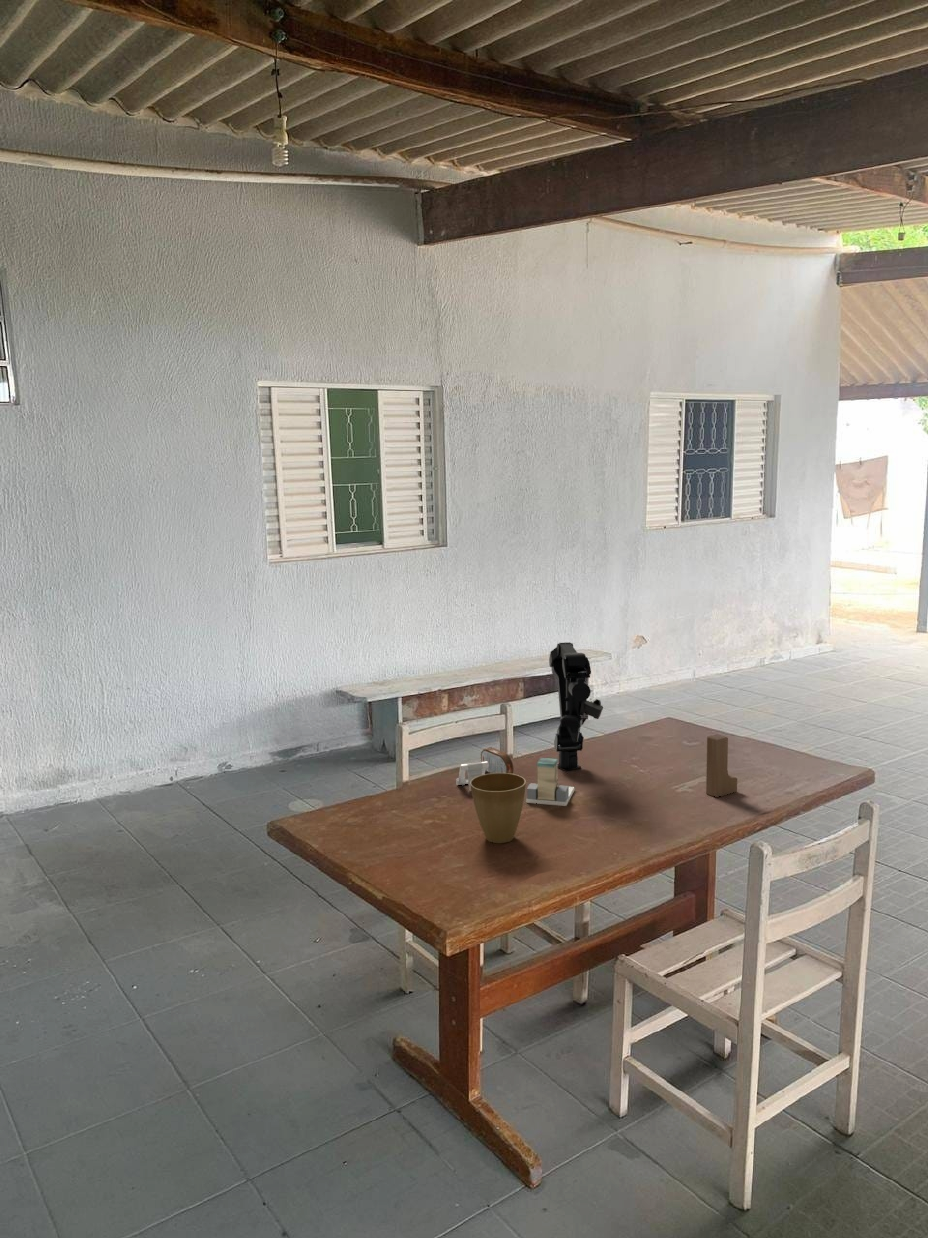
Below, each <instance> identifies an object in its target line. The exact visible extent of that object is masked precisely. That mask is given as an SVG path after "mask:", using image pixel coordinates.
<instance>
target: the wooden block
mask: <svg viewBox="0 0 928 1238" xmlns="http://www.w3.org/2000/svg"><path fill="white" fill-rule="evenodd" d="M728 748H729V737H728V736H724V735H721V734H718V733H716V734H712V735H709V736H707V737H706V771H705V772H706V774H705V775H706V776H705V777H706V778H705V779H706V781H705V782H706V784H705V786H706V787H705V794H706V795H708V796H711V797H714V796H715V797H714V798H716V797H718V798H720V797H719V796H721V797H724V796H727V794H728V795H731V794H734V793H737V792H738V777H735V776H733V775H729V771H728V770H729V769H728V761H729V760H728V759H729V757H728V754H729V749H728ZM736 791H737V792H736ZM733 792H734V793H733ZM730 793H731V794H730Z"/></svg>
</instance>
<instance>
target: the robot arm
mask: <svg viewBox="0 0 928 1238" xmlns="http://www.w3.org/2000/svg"><path fill="white" fill-rule="evenodd" d="M548 663H549V667H550V668H551V674H552V675H553V676H554V678H555V679H556V681H557V690H558V693H557V695H558V702H559V703H558V706H559V713H560V714H559V716H560V720H559V725H558V727H557V729H556V733H555V736H554V741H553V744H554V745H553V748H554V750H555V751H556V752H557V753H558V763H557V769H560V770H561V771H562V770H563V771H564V772H568V771H573V770H578V769H582V766H581V765H579V761H578V759H579V756H578V751H580V752H581V751H583V748H584V745H583V744H584V738H585V737H584V736H583V734H582V732H581V727H582V726H583V725H584V723H585V722H586V720H587V718H586V717H583V716H585V714H586V716H589V717H593V719H596V720H599V719H600V717H601V714H602V712H603V709H604V706H603V705H602V702H601V699H597V698H596V699H594V700H593V701H591V700H590V701H589V700H587V699H589V698H590V696H591V692H592V690H591V688H590V686H589V685H588V683H586V679H589V678H590V679H591V675H592V674H591V673H592V670H591V668H592V667H591V664H590V663H591V662H590V660H589V658H588V657H586V654H585V653H583V652H577V650H576V649H575V647H574V643H573V642H571V641H570V642H568V641H567V642H559V643H557V644H556V647H555V648H553V649H552V650H551V651H550V653H549V660H548Z"/></svg>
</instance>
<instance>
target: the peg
mask: <svg viewBox="0 0 928 1238" xmlns="http://www.w3.org/2000/svg"><path fill="white" fill-rule="evenodd" d="M536 764H537V765H536V767H537V769H536V770H537V784H538V799H546V800H555V791H556V789H557V787H558V785H559V784H558V783H559V782H558V780H559V779H558V767H557V764H558V758H548V757H546V758H545V757H541V758H539V760H538V761H537V763H536Z"/></svg>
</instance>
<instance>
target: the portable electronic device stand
mask: <svg viewBox="0 0 928 1238" xmlns="http://www.w3.org/2000/svg"><path fill="white" fill-rule="evenodd" d="M488 767H489V765H488V762H487V761H486V762H481V761H479V762H471V763H463V764H460V766H459V774H458V778H456V779H455V782H456V783H455V784H456V786H457V785H462V786H466V785H465V784H468V788H469V789H468V790H469V792H470V791H471V786H470V781H471V780H472V779H473V778H475V777H477V776H480V775H484V774H486V771H485V770H486V768H488ZM466 775H467V777H466Z"/></svg>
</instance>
